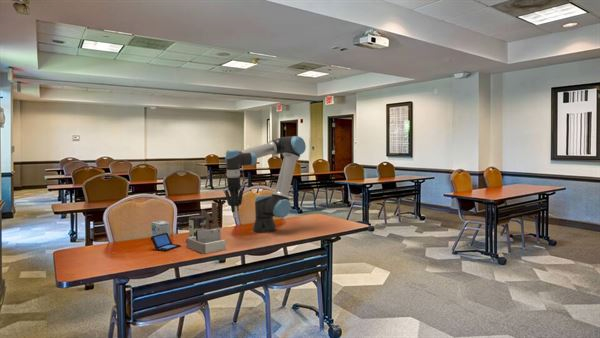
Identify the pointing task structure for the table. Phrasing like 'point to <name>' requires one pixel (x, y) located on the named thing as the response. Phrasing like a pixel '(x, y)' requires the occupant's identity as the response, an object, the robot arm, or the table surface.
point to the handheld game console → (163, 242)
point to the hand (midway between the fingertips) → (235, 217)
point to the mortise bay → (205, 245)
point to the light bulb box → (160, 228)
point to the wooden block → (208, 217)
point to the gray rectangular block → (208, 235)
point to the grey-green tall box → (196, 224)
